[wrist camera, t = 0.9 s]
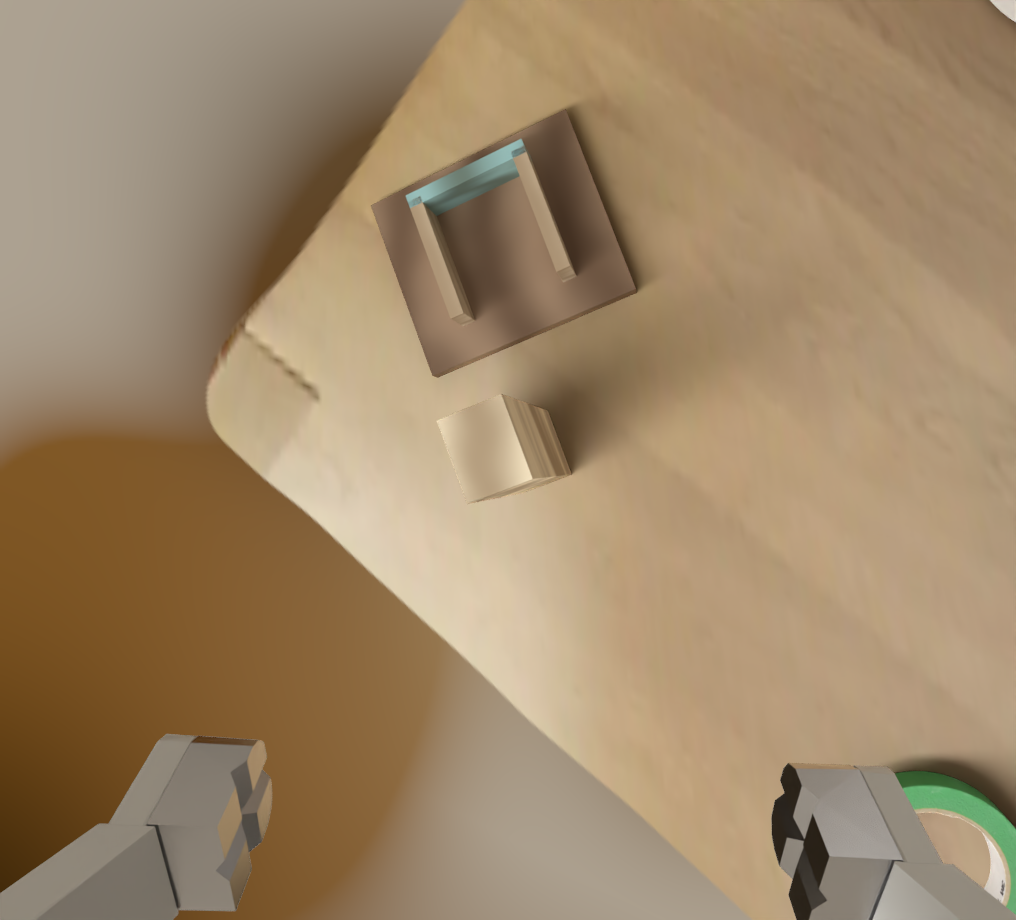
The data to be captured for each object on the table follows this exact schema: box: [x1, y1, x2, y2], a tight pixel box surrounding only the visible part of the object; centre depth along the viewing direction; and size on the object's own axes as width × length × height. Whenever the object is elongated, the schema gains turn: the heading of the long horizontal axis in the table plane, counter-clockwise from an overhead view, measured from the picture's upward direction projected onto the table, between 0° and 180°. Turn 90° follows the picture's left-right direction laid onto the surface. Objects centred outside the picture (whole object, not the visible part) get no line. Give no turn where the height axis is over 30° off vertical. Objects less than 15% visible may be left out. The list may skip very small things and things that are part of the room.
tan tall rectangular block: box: [437, 394, 572, 504], centre depth 48 cm, size 4×5×14 cm
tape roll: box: [895, 771, 1016, 915], centre depth 47 cm, size 11×11×3 cm
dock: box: [371, 109, 637, 377], centre depth 53 cm, size 16×14×4 cm
